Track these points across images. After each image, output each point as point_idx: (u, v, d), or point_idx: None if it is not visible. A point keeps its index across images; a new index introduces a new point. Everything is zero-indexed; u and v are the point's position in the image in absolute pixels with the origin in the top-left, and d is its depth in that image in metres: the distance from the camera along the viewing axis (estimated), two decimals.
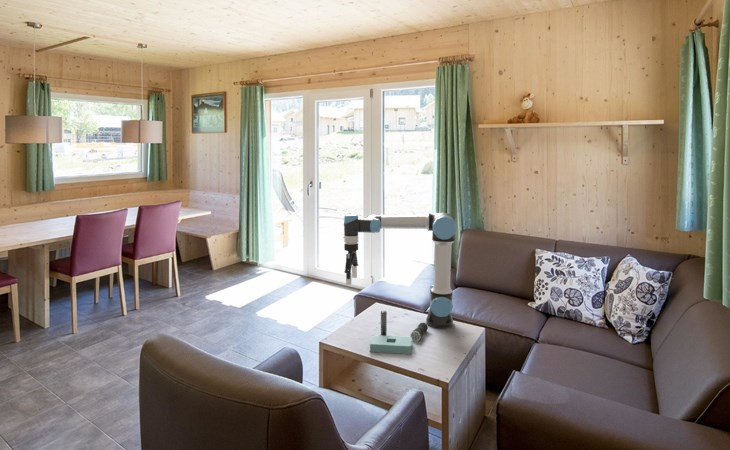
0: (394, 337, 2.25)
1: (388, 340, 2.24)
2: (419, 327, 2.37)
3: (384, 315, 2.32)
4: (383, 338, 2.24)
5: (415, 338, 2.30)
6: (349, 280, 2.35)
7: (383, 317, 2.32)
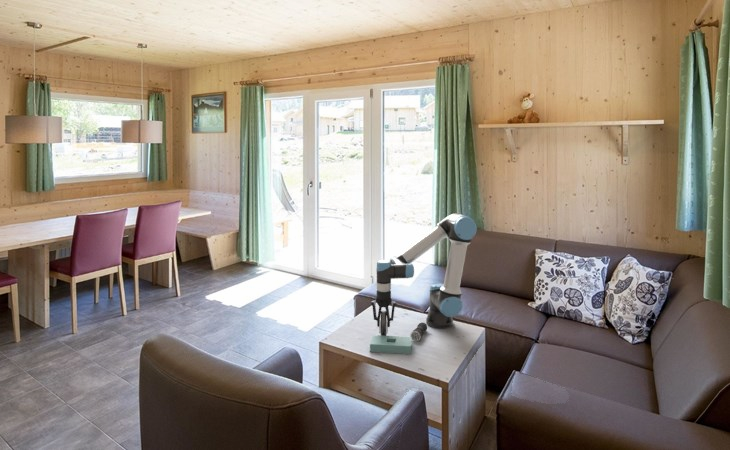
0: (394, 337, 2.25)
1: (388, 340, 2.24)
2: (419, 327, 2.37)
3: (384, 315, 2.32)
4: (383, 338, 2.24)
5: (415, 338, 2.30)
6: (379, 328, 2.35)
7: (383, 317, 2.32)
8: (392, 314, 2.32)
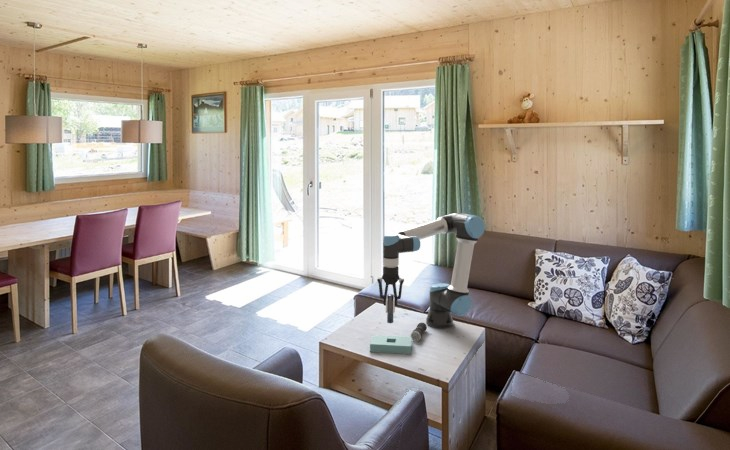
0: (394, 337, 2.25)
1: (388, 340, 2.24)
2: (418, 327, 2.37)
3: (391, 298, 2.18)
4: (383, 338, 2.24)
5: (415, 338, 2.30)
6: None
7: (390, 300, 2.18)
8: (400, 292, 2.16)
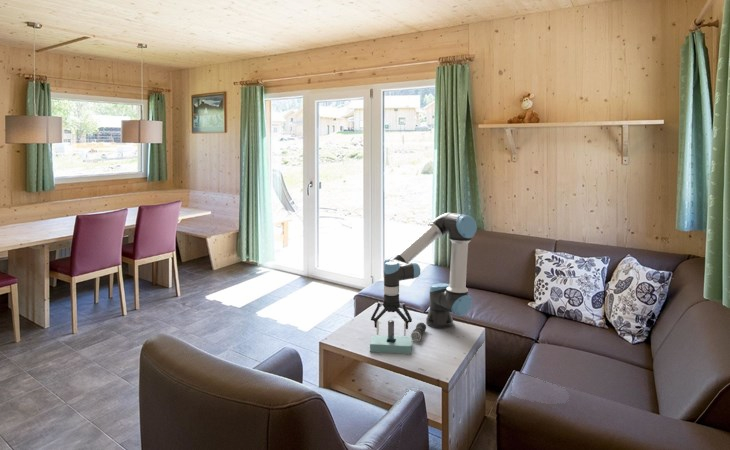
0: (394, 337, 2.25)
1: None
2: (418, 327, 2.36)
3: (391, 325, 2.19)
4: (383, 338, 2.24)
5: (415, 338, 2.30)
6: None
7: (390, 327, 2.19)
8: (407, 316, 2.17)
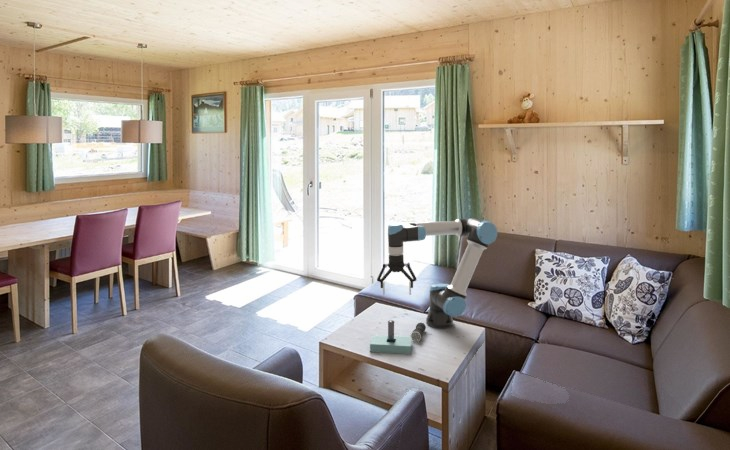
0: (394, 337, 2.25)
1: None
2: (418, 327, 2.36)
3: (391, 325, 2.19)
4: (383, 338, 2.24)
5: (415, 338, 2.30)
6: None
7: (390, 327, 2.19)
8: (412, 274, 2.26)
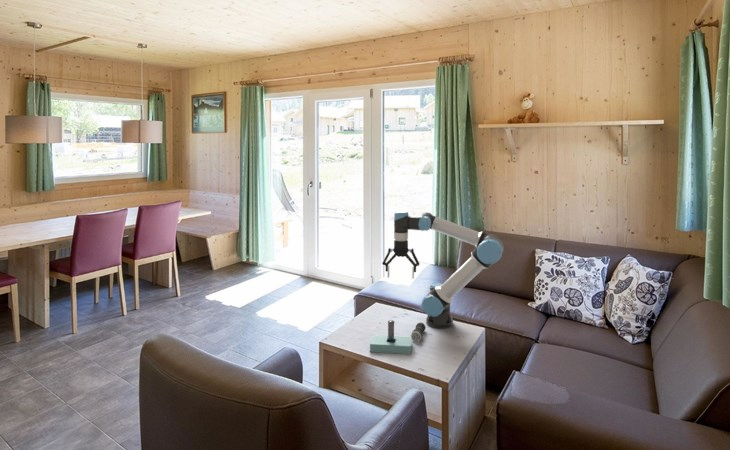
0: (394, 337, 2.25)
1: None
2: (418, 327, 2.36)
3: (391, 325, 2.19)
4: (383, 338, 2.24)
5: (416, 338, 2.30)
6: None
7: (390, 327, 2.19)
8: (415, 260, 2.41)
